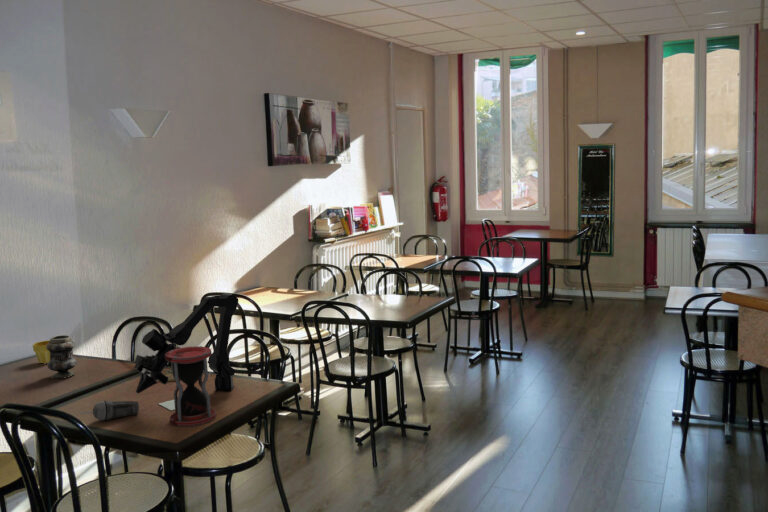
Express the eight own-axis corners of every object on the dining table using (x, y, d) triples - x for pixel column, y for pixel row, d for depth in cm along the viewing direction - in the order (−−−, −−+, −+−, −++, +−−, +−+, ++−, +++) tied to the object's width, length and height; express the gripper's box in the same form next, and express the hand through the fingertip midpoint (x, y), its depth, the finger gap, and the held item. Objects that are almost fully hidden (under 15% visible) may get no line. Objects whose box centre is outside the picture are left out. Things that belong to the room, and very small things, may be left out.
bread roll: (175, 372, 320) (175, 362, 319) (190, 380, 313) (190, 369, 312) (154, 380, 311) (153, 369, 310) (169, 387, 305) (168, 376, 303)
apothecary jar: (83, 374, 324) (79, 335, 321) (59, 381, 314) (55, 341, 311) (67, 370, 330) (63, 332, 328) (43, 377, 320) (39, 338, 318)
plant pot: (29, 365, 342) (27, 345, 341) (43, 359, 352) (41, 340, 351) (49, 365, 340) (47, 345, 339) (62, 359, 351) (60, 340, 349)
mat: (184, 397, 285) (184, 396, 285) (197, 403, 276) (197, 402, 276) (158, 404, 277) (158, 403, 277) (171, 410, 269) (171, 410, 269)
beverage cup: (140, 416, 263) (81, 422, 253) (135, 418, 269) (78, 424, 259) (139, 396, 265) (81, 401, 255) (134, 399, 271) (78, 403, 261)
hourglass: (189, 409, 270) (184, 344, 267) (224, 413, 264) (220, 347, 261) (160, 424, 255) (155, 356, 252) (197, 429, 249) (192, 359, 246)
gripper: (136, 342, 276) (110, 376, 271) (157, 350, 263) (131, 386, 257) (157, 358, 283) (132, 391, 277) (179, 366, 269) (153, 402, 263)
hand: (137, 392), depth 268 cm, fingers closed
